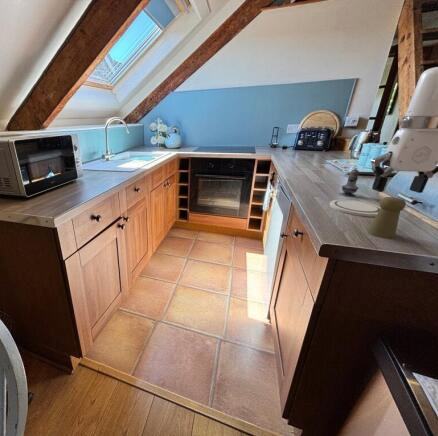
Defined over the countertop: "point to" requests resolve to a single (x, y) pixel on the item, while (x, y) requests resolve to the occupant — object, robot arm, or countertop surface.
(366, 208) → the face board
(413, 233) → the countertop surface
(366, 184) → the countertop surface
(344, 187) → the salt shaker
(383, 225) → the cork
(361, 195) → the countertop surface
